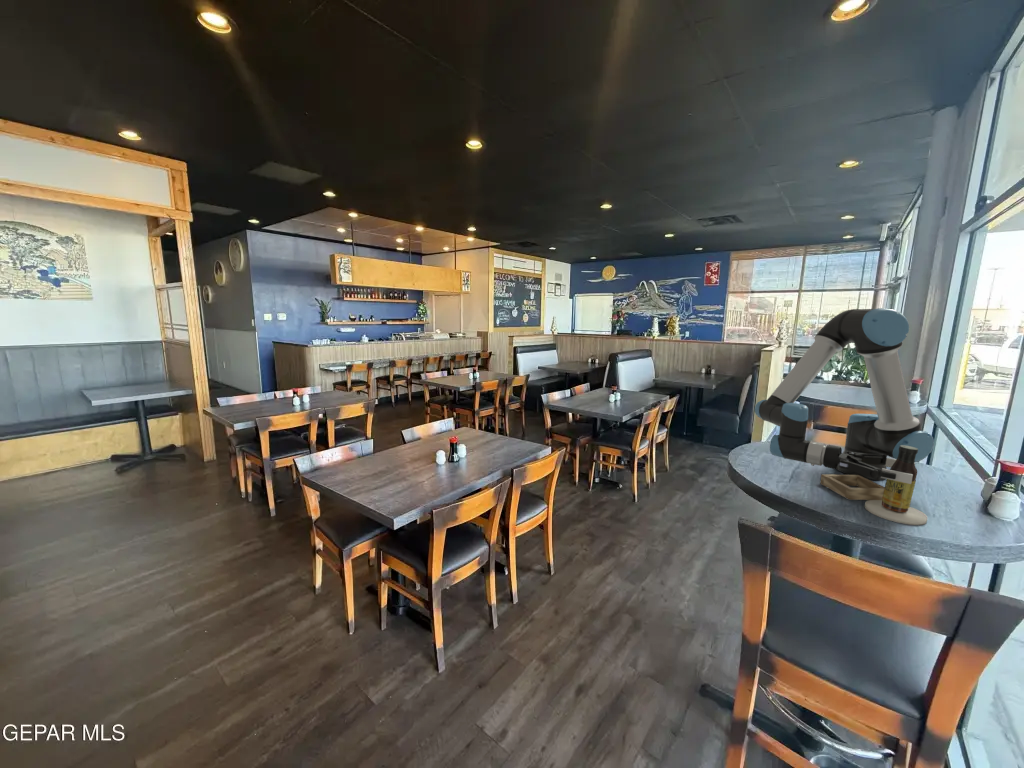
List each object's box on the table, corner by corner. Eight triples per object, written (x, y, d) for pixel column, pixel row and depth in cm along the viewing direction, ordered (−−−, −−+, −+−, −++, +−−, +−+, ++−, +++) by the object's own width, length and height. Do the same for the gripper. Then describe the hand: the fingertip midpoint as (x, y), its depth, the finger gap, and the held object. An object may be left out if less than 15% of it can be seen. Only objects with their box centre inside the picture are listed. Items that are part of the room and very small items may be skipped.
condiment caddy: (856, 484, 148) (858, 474, 147) (888, 500, 135) (890, 490, 134) (820, 483, 148) (821, 474, 147) (848, 499, 135) (850, 489, 134)
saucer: (897, 503, 132) (897, 500, 132) (941, 525, 119) (941, 521, 118) (853, 502, 133) (853, 499, 132) (891, 524, 119) (892, 520, 119)
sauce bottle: (875, 504, 128) (886, 443, 125) (893, 504, 129) (904, 443, 126) (896, 514, 122) (908, 449, 119) (915, 514, 123) (928, 450, 120)
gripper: (830, 457, 146) (913, 474, 131) (815, 475, 129) (908, 497, 114) (833, 437, 145) (917, 451, 129) (818, 452, 127) (913, 471, 112)
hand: (913, 473), depth 121 cm, fingers open, 13 cm apart
